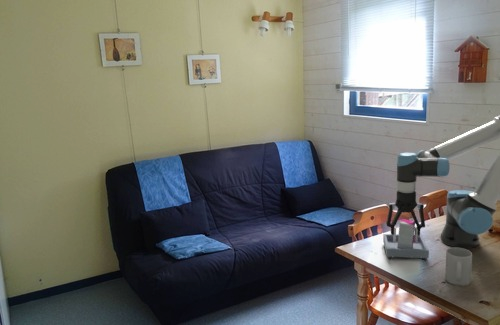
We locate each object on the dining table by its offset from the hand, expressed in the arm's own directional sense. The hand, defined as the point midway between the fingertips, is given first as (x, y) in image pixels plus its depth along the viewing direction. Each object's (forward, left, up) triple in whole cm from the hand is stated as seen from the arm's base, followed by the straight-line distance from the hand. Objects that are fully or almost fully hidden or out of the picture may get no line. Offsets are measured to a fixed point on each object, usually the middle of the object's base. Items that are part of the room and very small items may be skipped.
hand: (405, 242), depth 177 cm
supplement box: (0, +1, -2) cm, 2 cm away
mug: (-15, +24, -5) cm, 29 cm away
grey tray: (0, 0, -5) cm, 5 cm away
